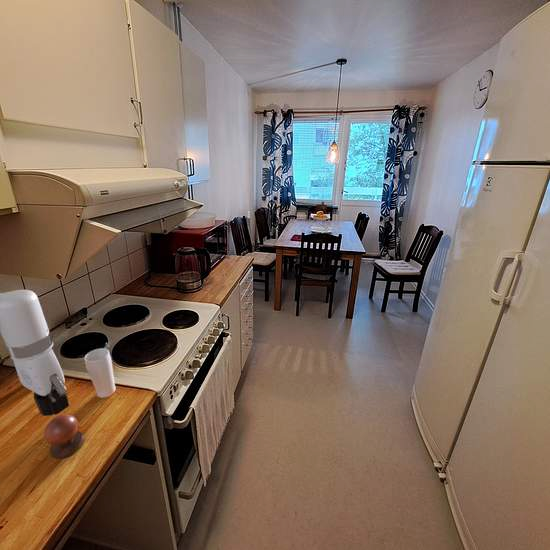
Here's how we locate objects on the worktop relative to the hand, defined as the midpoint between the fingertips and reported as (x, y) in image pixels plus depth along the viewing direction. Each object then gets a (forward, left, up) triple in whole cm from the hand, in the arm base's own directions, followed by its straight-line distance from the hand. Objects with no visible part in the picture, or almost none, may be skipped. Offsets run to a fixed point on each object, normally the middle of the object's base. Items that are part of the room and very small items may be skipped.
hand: (53, 405), depth 70 cm
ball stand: (0, 0, -14) cm, 14 cm away
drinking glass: (+17, +8, -15) cm, 24 cm away
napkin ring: (0, 0, -1) cm, 1 cm away
